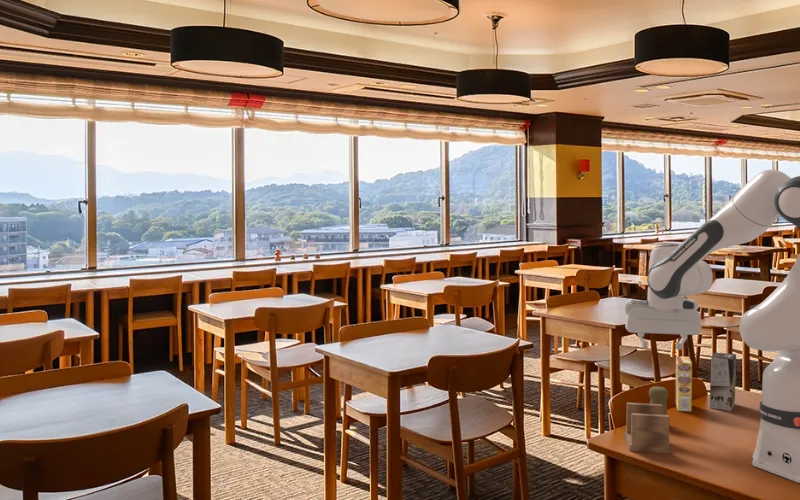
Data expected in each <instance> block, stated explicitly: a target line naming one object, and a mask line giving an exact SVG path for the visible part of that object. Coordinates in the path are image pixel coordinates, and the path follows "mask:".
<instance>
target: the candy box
mask: <svg viewBox="0 0 800 500" xmlns="http://www.w3.org/2000/svg"><path fill="white" fill-rule="evenodd" d="M692 384H693V362H692V360H691V358H690V357H689V356H679V355H678V356H676V357H675V405H676V408H677V409H676V410H677V411H678V412H689V413H691V412H692V408H693V407H692V401H693V399H692V398H693V396H692V391H693V390H692V389H693V385H692Z"/></svg>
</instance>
